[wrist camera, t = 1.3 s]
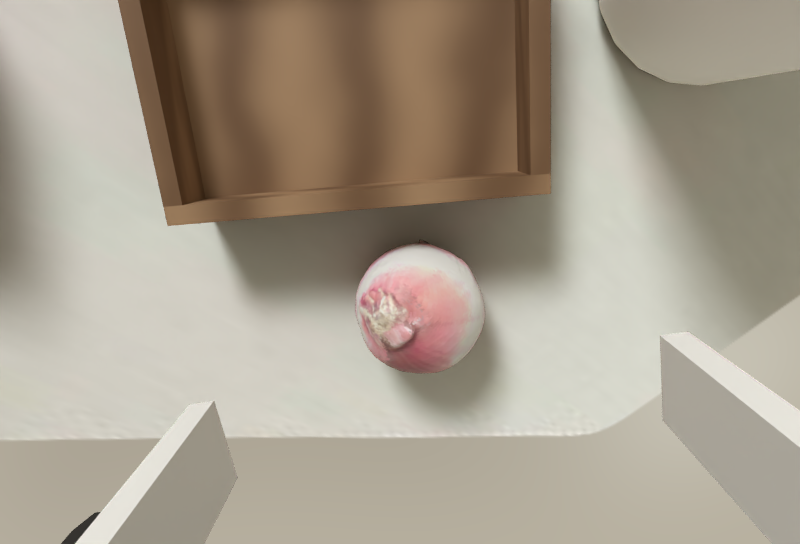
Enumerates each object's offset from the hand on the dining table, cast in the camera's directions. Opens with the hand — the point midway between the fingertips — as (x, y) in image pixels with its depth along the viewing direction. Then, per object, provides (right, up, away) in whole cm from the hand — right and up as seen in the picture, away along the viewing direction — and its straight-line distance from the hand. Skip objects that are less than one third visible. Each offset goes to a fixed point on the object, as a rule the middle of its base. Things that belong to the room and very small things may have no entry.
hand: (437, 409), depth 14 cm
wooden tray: (-4, +16, +14) cm, 22 cm away
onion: (0, +3, +18) cm, 18 cm away
